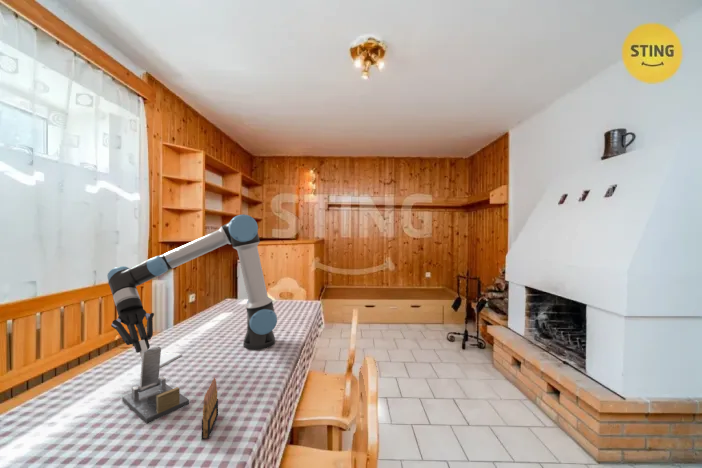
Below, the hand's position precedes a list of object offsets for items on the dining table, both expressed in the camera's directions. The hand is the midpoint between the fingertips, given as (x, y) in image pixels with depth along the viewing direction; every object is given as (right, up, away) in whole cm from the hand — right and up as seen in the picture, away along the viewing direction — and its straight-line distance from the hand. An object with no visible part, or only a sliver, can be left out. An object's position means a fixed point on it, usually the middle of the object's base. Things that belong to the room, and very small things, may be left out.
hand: (146, 358), depth 99 cm
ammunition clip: (+29, -13, -15) cm, 36 cm away
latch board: (+6, -13, -4) cm, 15 cm away
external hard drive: (-12, -14, +27) cm, 33 cm away
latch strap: (+2, -9, -1) cm, 9 cm away
